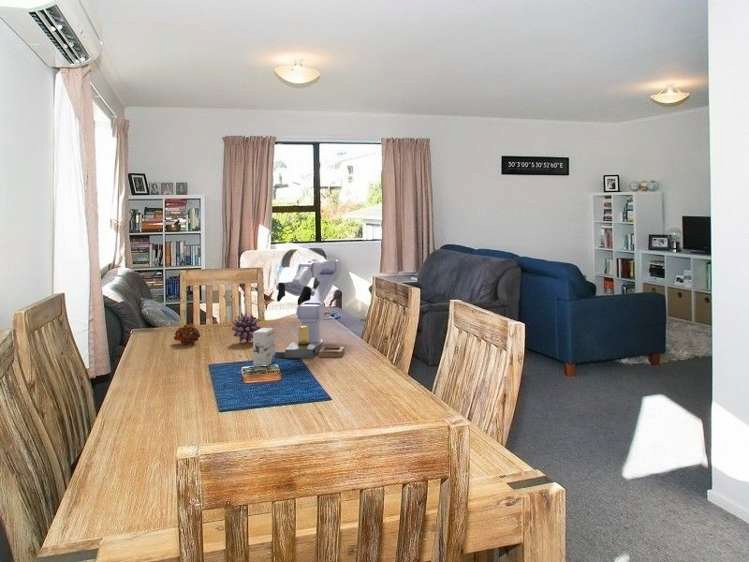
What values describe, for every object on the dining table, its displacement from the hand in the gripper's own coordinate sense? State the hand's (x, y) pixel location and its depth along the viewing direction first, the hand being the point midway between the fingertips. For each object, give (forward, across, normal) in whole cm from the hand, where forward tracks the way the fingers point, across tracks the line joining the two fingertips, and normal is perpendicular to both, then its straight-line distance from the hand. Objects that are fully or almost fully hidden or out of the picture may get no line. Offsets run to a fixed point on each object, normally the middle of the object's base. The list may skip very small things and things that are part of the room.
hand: (288, 301), depth 221 cm
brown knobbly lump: (-6, -45, +33) cm, 56 cm away
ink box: (+20, -1, +13) cm, 24 cm away
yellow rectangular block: (+2, +7, +20) cm, 21 cm away
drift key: (+9, +1, +18) cm, 20 cm away
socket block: (+5, +7, +19) cm, 21 cm away
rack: (+4, +18, +17) cm, 25 cm away
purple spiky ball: (-11, -22, +32) cm, 40 cm away
